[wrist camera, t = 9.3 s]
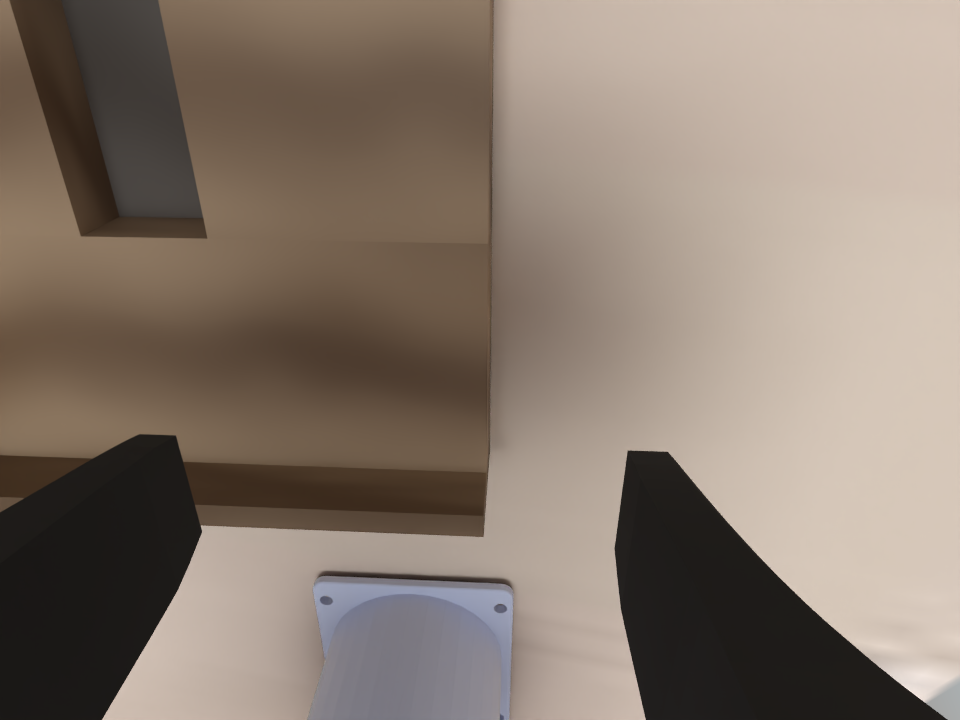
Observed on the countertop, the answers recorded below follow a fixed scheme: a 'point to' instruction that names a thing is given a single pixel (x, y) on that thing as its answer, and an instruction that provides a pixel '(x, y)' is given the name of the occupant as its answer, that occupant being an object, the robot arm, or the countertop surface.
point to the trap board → (252, 253)
